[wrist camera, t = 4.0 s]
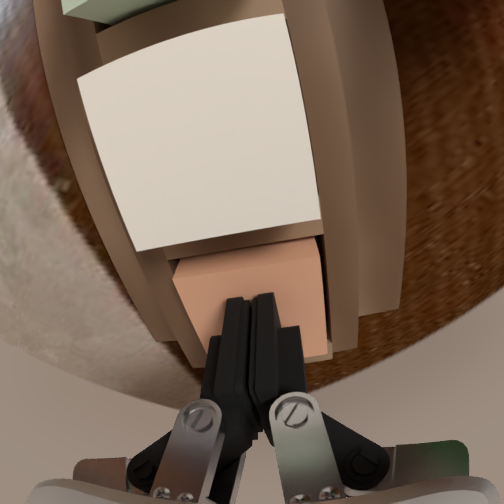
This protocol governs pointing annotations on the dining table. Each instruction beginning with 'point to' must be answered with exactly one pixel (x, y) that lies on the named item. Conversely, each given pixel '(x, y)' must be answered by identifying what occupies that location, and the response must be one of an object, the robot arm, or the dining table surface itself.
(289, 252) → the tan block
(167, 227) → the tile
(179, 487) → the robot arm
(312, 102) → the long wooden tray
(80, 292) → the dining table surface
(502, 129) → the dining table surface
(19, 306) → the dining table surface
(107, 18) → the green block
